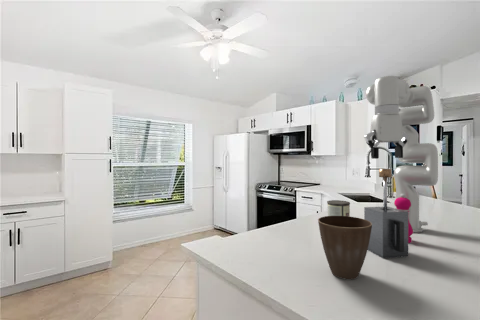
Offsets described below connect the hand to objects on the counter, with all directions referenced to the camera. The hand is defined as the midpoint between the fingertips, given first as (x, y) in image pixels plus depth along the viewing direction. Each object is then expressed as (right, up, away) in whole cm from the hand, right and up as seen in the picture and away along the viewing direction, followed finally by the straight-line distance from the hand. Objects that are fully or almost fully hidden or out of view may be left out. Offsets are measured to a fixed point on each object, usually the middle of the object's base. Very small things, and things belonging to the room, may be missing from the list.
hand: (386, 158), depth 91 cm
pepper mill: (+15, -35, +14) cm, 41 cm away
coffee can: (-6, -35, +30) cm, 46 cm away
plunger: (0, -21, +1) cm, 21 cm away
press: (0, -35, 0) cm, 35 cm away
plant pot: (-23, -35, -16) cm, 45 cm away
